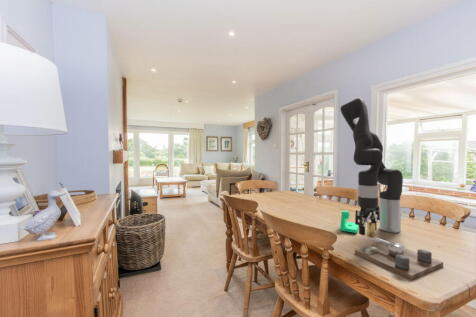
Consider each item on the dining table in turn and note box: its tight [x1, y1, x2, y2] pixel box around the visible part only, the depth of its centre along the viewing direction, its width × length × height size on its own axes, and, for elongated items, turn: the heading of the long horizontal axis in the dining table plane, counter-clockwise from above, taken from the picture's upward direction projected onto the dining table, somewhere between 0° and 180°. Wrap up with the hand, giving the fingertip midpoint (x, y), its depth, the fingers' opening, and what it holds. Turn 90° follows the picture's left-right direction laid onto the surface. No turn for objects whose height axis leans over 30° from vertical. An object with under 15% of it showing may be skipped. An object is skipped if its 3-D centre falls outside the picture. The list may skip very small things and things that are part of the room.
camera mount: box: [339, 210, 359, 234], centre depth 118 cm, size 12×8×10 cm, turn 145°
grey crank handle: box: [366, 221, 405, 257], centre depth 89 cm, size 14×5×10 cm, turn 26°
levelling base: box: [354, 242, 444, 281], centre depth 85 cm, size 20×21×5 cm
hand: (367, 232), depth 93 cm, fingers open, 8 cm apart
